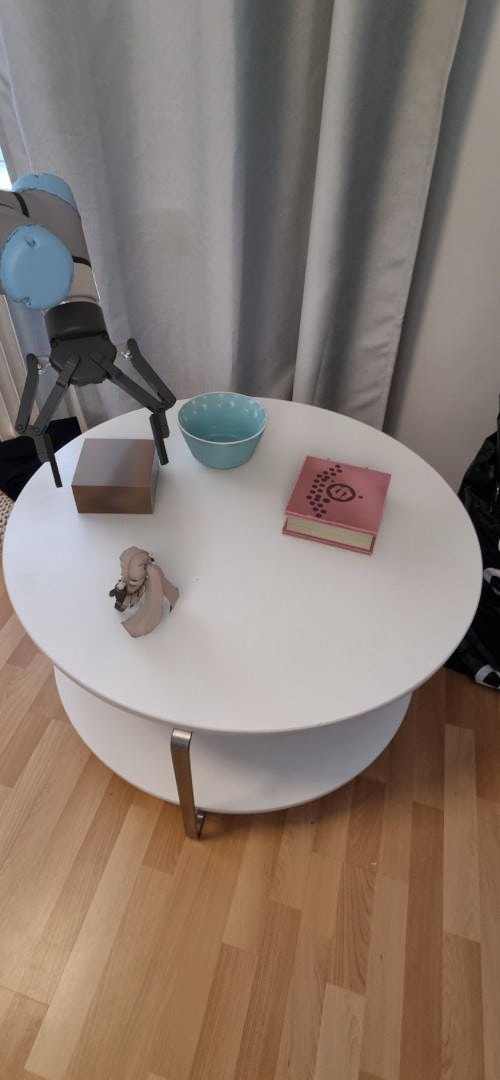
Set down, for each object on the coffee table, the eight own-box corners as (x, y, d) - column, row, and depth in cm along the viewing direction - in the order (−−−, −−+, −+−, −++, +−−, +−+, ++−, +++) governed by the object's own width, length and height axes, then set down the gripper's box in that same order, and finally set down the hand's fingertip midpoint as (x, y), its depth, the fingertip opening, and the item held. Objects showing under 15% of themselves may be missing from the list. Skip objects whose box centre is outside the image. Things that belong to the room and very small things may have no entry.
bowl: (186, 424, 112) (184, 387, 106) (268, 431, 111) (270, 393, 105) (171, 478, 101) (168, 439, 95) (262, 485, 100) (264, 447, 94)
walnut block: (77, 513, 94) (70, 485, 90) (90, 465, 103) (84, 437, 98) (152, 514, 95) (149, 486, 90) (159, 466, 103) (156, 439, 99)
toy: (137, 572, 85) (151, 516, 73) (181, 610, 84) (203, 559, 72) (91, 613, 80) (99, 559, 68) (137, 654, 79) (153, 606, 67)
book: (386, 493, 100) (392, 470, 97) (371, 556, 90) (377, 533, 86) (304, 474, 103) (307, 452, 99) (281, 533, 93) (284, 510, 89)
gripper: (164, 308, 81) (200, 459, 82) (-28, 335, 74) (15, 498, 76) (172, 285, 73) (211, 451, 75) (-40, 313, 67) (8, 494, 68)
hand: (113, 475), depth 75 cm, fingers open, 13 cm apart
